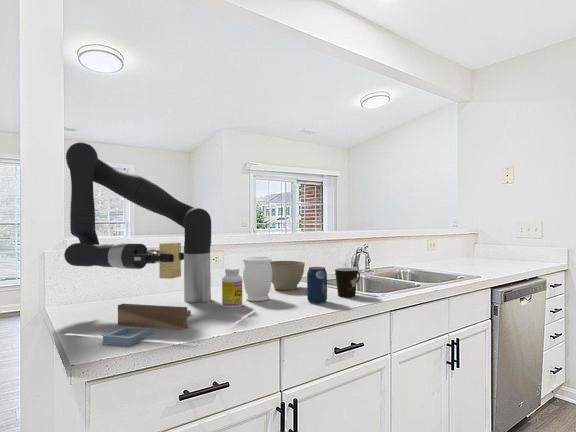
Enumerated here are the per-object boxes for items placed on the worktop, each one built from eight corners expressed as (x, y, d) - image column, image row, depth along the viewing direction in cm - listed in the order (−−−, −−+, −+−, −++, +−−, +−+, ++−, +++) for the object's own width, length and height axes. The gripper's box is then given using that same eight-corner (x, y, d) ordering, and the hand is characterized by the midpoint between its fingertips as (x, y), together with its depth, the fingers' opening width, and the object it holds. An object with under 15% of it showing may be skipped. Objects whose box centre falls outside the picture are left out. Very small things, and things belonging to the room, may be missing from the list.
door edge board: (122, 325, 111) (122, 303, 111) (187, 329, 106) (187, 307, 106) (117, 327, 109) (117, 305, 109) (183, 331, 104) (183, 308, 104)
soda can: (328, 304, 136) (327, 268, 136) (307, 304, 136) (307, 269, 136) (326, 300, 143) (325, 266, 143) (306, 300, 143) (306, 266, 143)
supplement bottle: (235, 310, 128) (235, 270, 128) (218, 308, 131) (218, 269, 131) (246, 305, 134) (245, 267, 134) (229, 304, 137) (229, 266, 137)
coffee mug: (340, 298, 144) (340, 271, 144) (331, 294, 153) (331, 268, 153) (369, 296, 148) (369, 269, 148) (359, 292, 156) (358, 267, 156)
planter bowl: (284, 293, 156) (284, 265, 156) (258, 288, 168) (258, 262, 168) (313, 288, 166) (312, 262, 166) (287, 283, 178) (286, 259, 178)
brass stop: (169, 275, 119) (168, 242, 119) (181, 276, 118) (180, 242, 118) (159, 278, 114) (159, 243, 114) (171, 278, 113) (171, 243, 113)
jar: (238, 301, 142) (238, 259, 142) (250, 295, 151) (249, 256, 152) (265, 303, 138) (265, 259, 138) (276, 297, 148) (276, 257, 148)
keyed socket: (126, 333, 103) (126, 326, 103) (151, 335, 101) (151, 328, 101) (102, 343, 94) (102, 335, 94) (130, 345, 92) (130, 338, 92)
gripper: (111, 245, 113) (164, 246, 109) (142, 242, 127) (190, 242, 123) (111, 271, 113) (164, 273, 109) (142, 265, 127) (190, 267, 123)
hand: (178, 257), depth 116 cm, fingers closed on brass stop, 5 cm apart
